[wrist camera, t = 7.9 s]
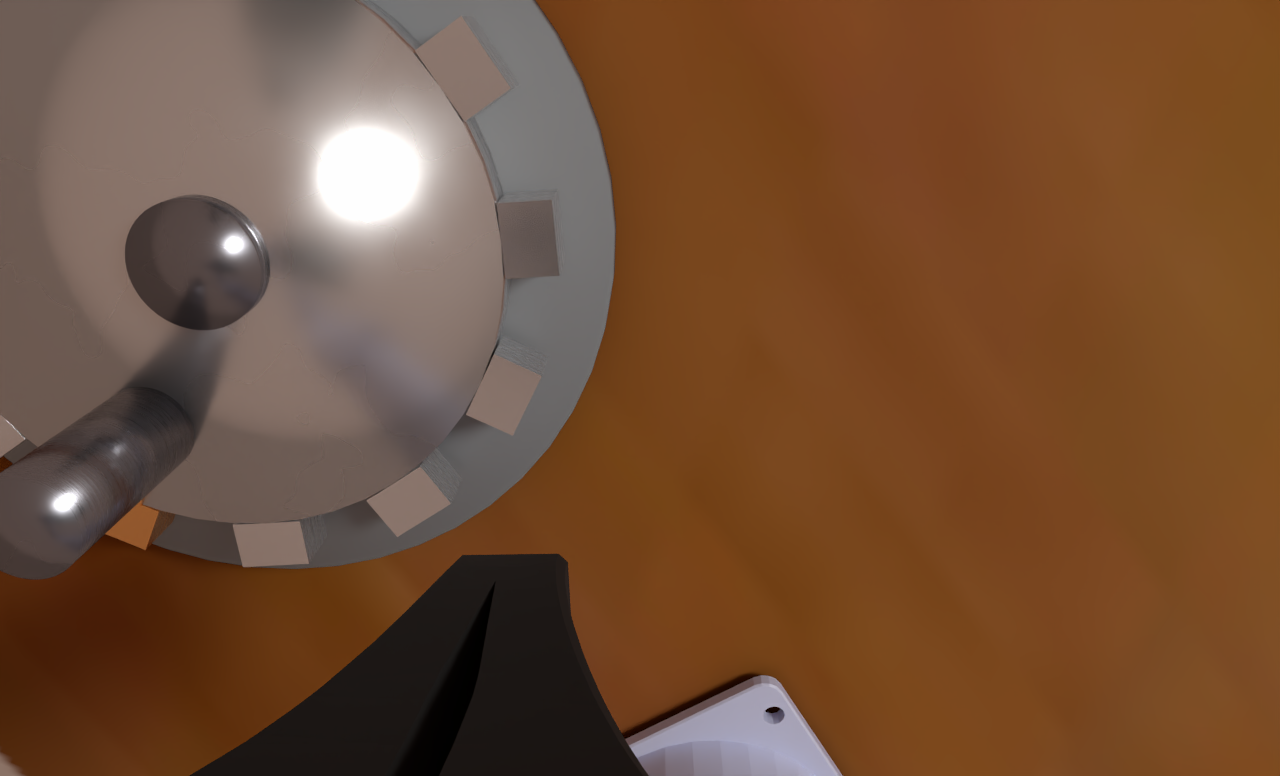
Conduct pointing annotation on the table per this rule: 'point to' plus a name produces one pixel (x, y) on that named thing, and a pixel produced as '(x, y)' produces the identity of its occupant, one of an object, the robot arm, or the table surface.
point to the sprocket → (248, 270)
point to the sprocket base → (538, 306)
